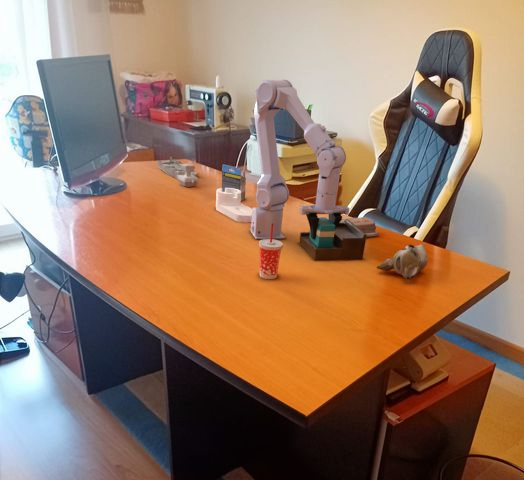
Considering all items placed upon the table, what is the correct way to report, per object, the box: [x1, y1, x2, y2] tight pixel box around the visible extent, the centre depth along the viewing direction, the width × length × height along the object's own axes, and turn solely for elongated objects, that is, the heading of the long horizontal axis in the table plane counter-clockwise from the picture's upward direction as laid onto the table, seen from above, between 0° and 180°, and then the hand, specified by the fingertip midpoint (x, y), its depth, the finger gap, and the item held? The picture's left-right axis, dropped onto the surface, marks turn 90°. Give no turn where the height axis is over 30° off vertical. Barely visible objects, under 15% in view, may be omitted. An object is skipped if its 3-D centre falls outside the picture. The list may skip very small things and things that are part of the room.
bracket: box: [215, 187, 253, 223], centre depth 181 cm, size 20×9×7 cm, turn 33°
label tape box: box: [221, 164, 247, 202], centre depth 197 cm, size 9×4×12 cm, turn 58°
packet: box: [309, 216, 335, 248], centre depth 153 cm, size 5×8×6 cm, turn 14°
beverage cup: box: [258, 223, 284, 280], centre depth 133 cm, size 6×6×14 cm
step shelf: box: [298, 218, 368, 261], centre depth 155 cm, size 15×15×8 cm
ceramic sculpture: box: [376, 243, 429, 280], centre depth 143 cm, size 11×9×15 cm
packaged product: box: [340, 216, 380, 238], centre depth 171 cm, size 18×5×10 cm
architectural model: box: [156, 156, 199, 179], centre depth 229 cm, size 12×25×5 cm, turn 35°
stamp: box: [176, 163, 200, 188], centre depth 210 cm, size 9×7×8 cm
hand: (320, 238), depth 154 cm, fingers closed on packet, 4 cm apart
